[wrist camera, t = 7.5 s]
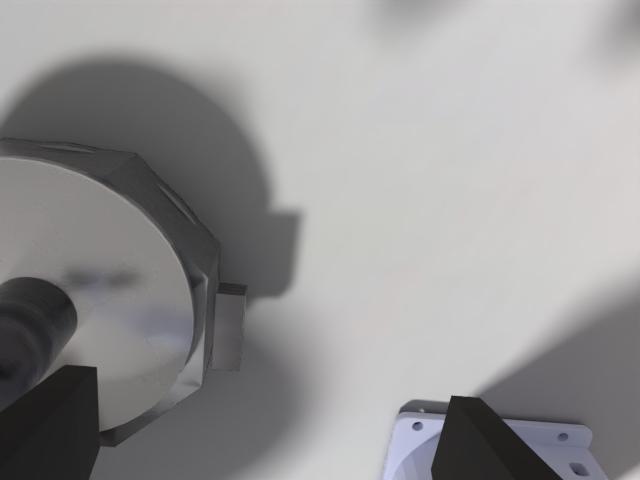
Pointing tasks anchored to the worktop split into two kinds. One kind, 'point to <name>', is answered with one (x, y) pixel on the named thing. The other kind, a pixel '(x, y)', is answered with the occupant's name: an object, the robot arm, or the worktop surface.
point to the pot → (195, 249)
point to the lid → (88, 289)
